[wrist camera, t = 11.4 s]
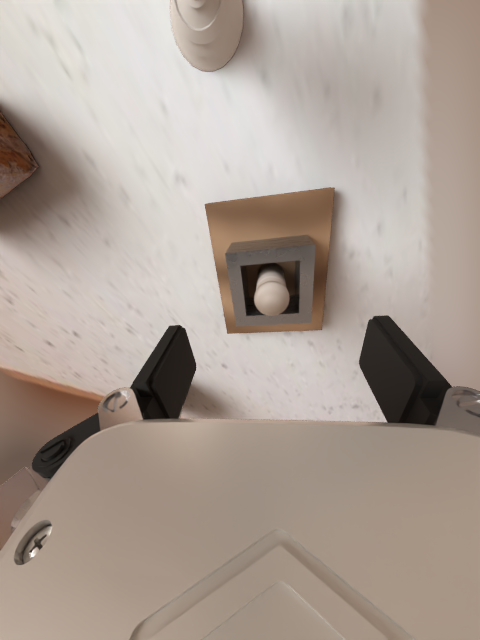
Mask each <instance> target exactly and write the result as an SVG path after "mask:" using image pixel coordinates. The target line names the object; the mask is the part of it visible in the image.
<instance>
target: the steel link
mask: <svg viewBox="0 0 480 640" xmlns="http://www.w3.org/2000/svg"><path fill="white" fill-rule="evenodd" d="M225 257H226V264H227V270H228V276H229V283H230V289H231V296H232V302H233V309H234V315H235V322H236V327H237V326H259V325H280V324H301V323H311V320H312V301H313V283H314V264H315V243H314V242H313V241H312V240H311V239H310V237H309V236H308V235H299V236H290V237H280V238H271V239H262V240H252V241H243V242H233V243H231V245H230V246H229V248H228V249H227V251H226V253H225ZM287 261H295V277H294V295H289V304H288V306H287V308H286V309H285V310H284V311H283V312H282V313H280V314H279V315H275V316H268V315H265V314H263V313H261V312H260V311H259V310H258V309H257V307H256V305H255V302H254V297H251V298H249V291H248V282H247V273H246V265H254V264H265V263H276V262H287Z"/></svg>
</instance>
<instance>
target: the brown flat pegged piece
mask: <svg viewBox="0 0 480 640" xmlns="http://www.w3.org/2000/svg"><path fill="white" fill-rule="evenodd" d="M334 189H335V188H323V189H315V190H308V191H300V192H292V193H284V194H277V195H269V196H261V197H253V198H246V199H238V200H230V201H222V202H215V203H208V204H205V209H206V214H207V220H208V226H209V231H210V237H211V243H212V248H213V254H214V260H215V265H216V271H217V277H218V283H219V288H220V294H221V300H222V305H223V311H224V317H225V322H226V328H227V334H229V333H256V332H282V331H309V330H322V322H323V311H324V300H325V289H326V278H327V267H328V256H329V244H330V233H331V222H332V211H333V200H334ZM299 235H308V236H309V237H310V239H311V240H312V241H313V242H314V243H315V264H314V283H313V301H312V320H311V323H301V324H280V325H259V326H237V327H236V322H235V315H234V309H233V302H232V296H231V289H230V283H229V276H228V270H227V264H226V257H225V253H226V251H227V249H228V248H229V246H230V245H231V243H233V242H243V241H252V240H262V239H271V238H280V237H290V236H299ZM246 273H247V282H248V291H249V298H251V297H254V302H255V305H256V307H257V309H258V310H259V311H260V312H261V313H263V314H265V315H268V316H275V315H279V314H280V313H282V312H283V311H284V310H285V309H286V308H287V306H288V304H289V295H294V277H295V261H287V262H276V263H265V264H254V265H246Z"/></svg>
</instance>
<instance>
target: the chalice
mask: <svg viewBox="0 0 480 640" xmlns="http://www.w3.org/2000/svg"><path fill="white" fill-rule="evenodd" d="M170 17H171V27H172V31H173V34H174V38H175V41H176V44H177V46H178V48H179V49H180V51H181V53H182V55H183V57H184V58H185V59H186V60H187V61H188V62H189V63H190V64H191V65H192V66H194V67H196V68H198V69H199V70H201V71H215V70H217V69H219V68H221V67H223V66H224V65H225V64H226V63H227V62H228V61H229V60H230V59H231V58H232V56H233V54H234V53H235V51H236V49H237V47H238V45H239V41H240V37H241V33H242V29H243V3H242V0H170Z"/></svg>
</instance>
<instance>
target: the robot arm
mask: <svg viewBox="0 0 480 640" xmlns="http://www.w3.org/2000/svg"><path fill="white" fill-rule="evenodd" d="M359 365H360V368H361V370H362V372H363V374H364V376H365V378H366V380H367V382H368V384H369V386H370V388H371V390H372V392H373V394H374V396H375V398H376V400H377V402H378V404H379V406H380V408H381V410H382V412H383V414H384V416H385V418H386V420H387V422H388V423H384V422H351V421H308V420H254V419H178V418H179V415H180V412H181V410H182V407H183V404H184V401H185V399H186V396H187V393H188V390H189V388H190V385H191V382H192V379H193V376H194V374H195V371H196V362H195V359H194V356H193V353H192V349H191V346H190V343H189V340H188V336H187V333H186V330H185V328H182V326H180V325H175V326H169V327H168V329H167V330H166V332H165V334H164V335H163V337H162V338H161V340H160V341H159V343H158V344H157V346H156V347H155V349H154V351H153V352H152V354H151V355H150V357H149V358H148V360H147V361H146V363H145V365H144V366H143V368H142V369H141V371H140V372H139V374H138V375H137V377H136V378H135V380H134V382H133V384H132V385H131V387H130V388H125V387H124V388H119V389H116V390H114V391H112V392H111V393H109V394H108V395H107V396H105V397H104V398H103V400H102V401H101V402H100V404H99V406H98V413H97V414H95V415H93V416H91V417H89V418H88V419H86V420H84V421H83V422H81V423H79V424H77V425H76V426H74V427H72V428H70V429H69V430H67V431H65V432H64V433H62V434H60V435H58V436H57V437H55V438H53V439H52V440H50V441H49V442H47V443H46V444H45V445H44V446H43V447H42V448H41V449H40V450H39V451H38V453H37V454H36V456H35V457H34V459H33V462H32V466H30V467H29V468H28V469H27V468H25V467H24V468H23V469H21V470H20V471H19V472H18V473H16V474H15V475H14V476H12V477H11V478H10V479H9V480H7V481H6V482H5V483H4V484H3V485H1V486H0V640H480V391H478V390H475V389H472V388H468V387H460V386H457V387H452V386H451V385H450V384H449V383H448V382H447V380H446V379H445V378H444V377H443V376H442V375H441V374H440V373H439V371H438V370H437V369H436V368H435V367H434V366H433V365H432V364H431V362H430V361H429V360H428V359H427V358H426V357H425V356H424V355H423V354H422V352H421V351H420V350H419V349H418V348H417V347H416V346H415V345H414V343H413V342H412V341H411V340H410V339H409V338H408V337H407V336H406V335H405V333H404V332H403V331H402V330H401V329H400V328H399V327H398V326H397V324H396V323H395V322H394V321H393V320H392V319H391V318H390V317H389V316H374V317H373V319H370V320H369V322H368V326H367V330H366V334H365V338H364V343H363V347H362V351H361V355H360V360H359Z"/></svg>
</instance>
